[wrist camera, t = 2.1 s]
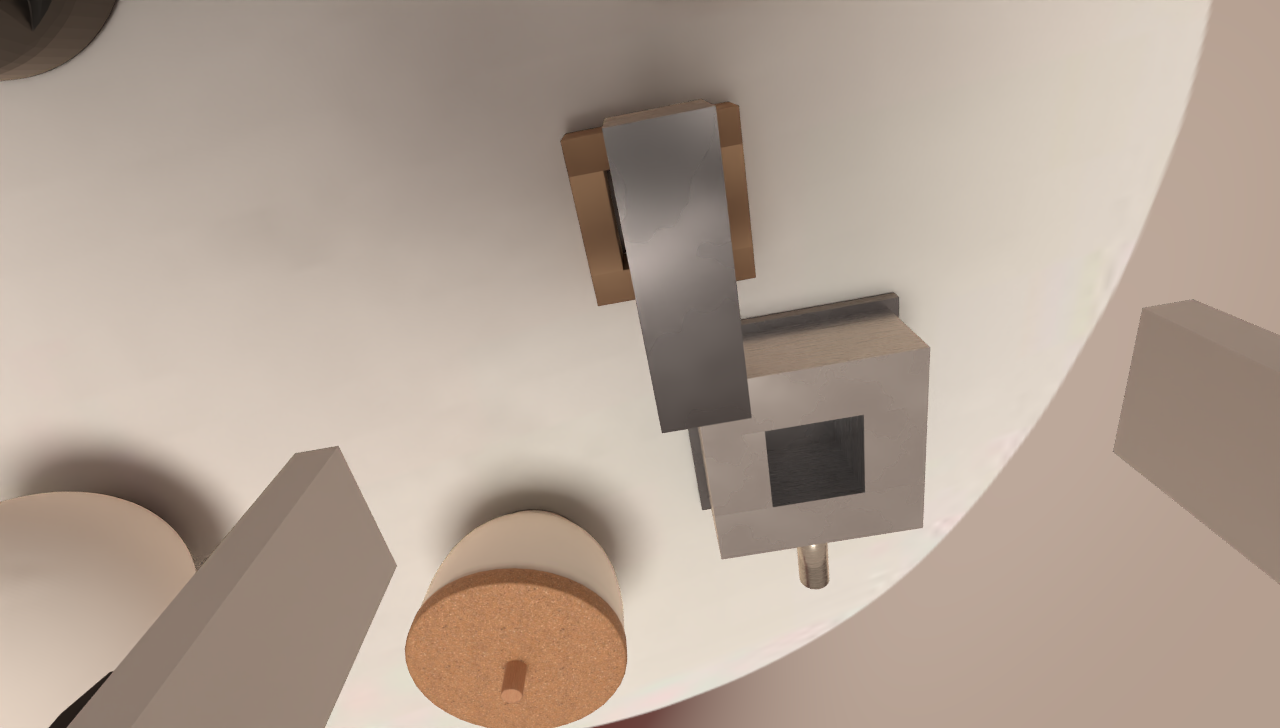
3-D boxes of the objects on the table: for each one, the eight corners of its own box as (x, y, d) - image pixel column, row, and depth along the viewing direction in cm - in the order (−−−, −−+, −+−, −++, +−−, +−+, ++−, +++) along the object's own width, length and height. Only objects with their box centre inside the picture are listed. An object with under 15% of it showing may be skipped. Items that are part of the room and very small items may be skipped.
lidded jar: (628, 478, 34) (632, 614, 26) (622, 613, 39) (623, 764, 31) (436, 475, 34) (375, 613, 25) (453, 612, 39) (408, 766, 30)
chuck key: (609, 98, 25) (601, 128, 15) (675, 85, 25) (715, 105, 15) (646, 298, 29) (661, 433, 19) (703, 287, 29) (751, 417, 19)
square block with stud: (671, 332, 30) (680, 380, 26) (894, 292, 30) (942, 334, 25) (709, 554, 37) (722, 622, 32) (891, 525, 36) (929, 590, 32)
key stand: (565, 133, 26) (560, 140, 24) (728, 101, 25) (738, 105, 23) (599, 286, 29) (598, 306, 27) (745, 260, 29) (755, 277, 26)
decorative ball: (32, 408, 31) (-275, 592, 20) (269, 501, 34) (111, 703, 23) (1, 559, 35) (-265, 775, 25) (213, 630, 39) (58, 849, 28)
